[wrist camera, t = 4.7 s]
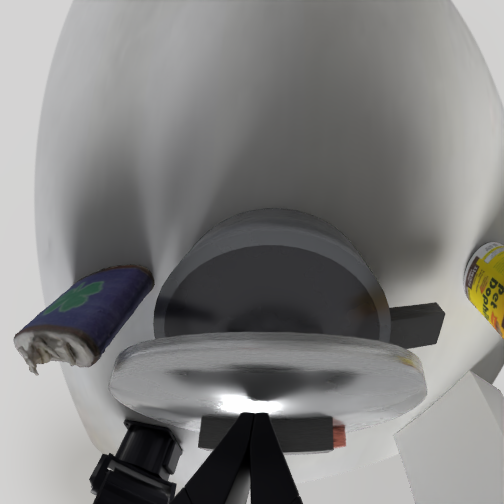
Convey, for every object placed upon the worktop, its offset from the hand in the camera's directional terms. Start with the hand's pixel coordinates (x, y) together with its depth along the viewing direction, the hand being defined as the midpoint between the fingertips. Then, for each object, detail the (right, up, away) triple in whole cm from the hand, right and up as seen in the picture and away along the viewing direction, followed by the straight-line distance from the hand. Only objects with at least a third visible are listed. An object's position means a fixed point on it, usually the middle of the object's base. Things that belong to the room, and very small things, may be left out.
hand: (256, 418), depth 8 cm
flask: (-12, +3, +13) cm, 18 cm away
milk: (+25, -15, +16) cm, 33 cm away
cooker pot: (+3, +1, +12) cm, 13 cm away
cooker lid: (+1, -2, +5) cm, 5 cm away
